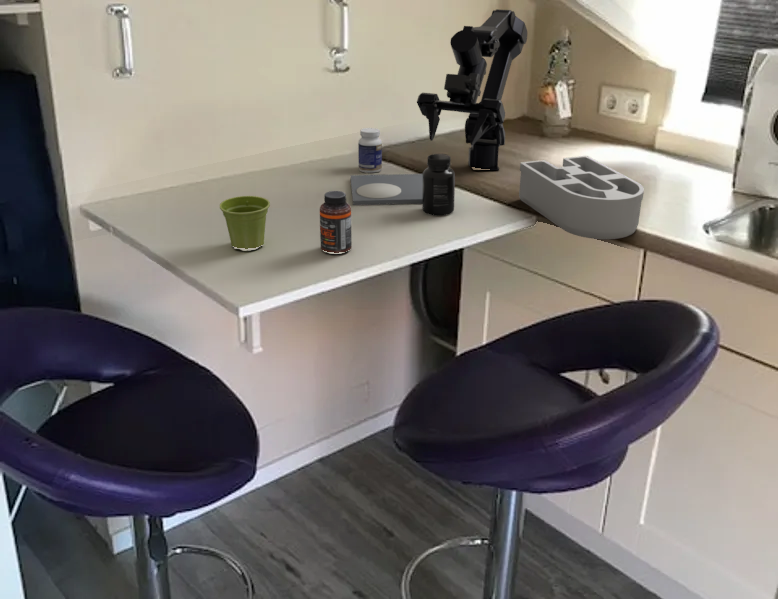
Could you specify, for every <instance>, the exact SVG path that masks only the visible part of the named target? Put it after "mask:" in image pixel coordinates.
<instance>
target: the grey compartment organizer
mask: <svg viewBox="0 0 778 599" xmlns="http://www.w3.org/2000/svg"><path fill="white" fill-rule="evenodd" d="M519 171H520V176H519V192H518V194H519V195H518V196H519V200H520V201H521V202H522V203H524V204H526V205H527V206H529V207H530V208H531V209H533V210H534V211H536V212H537V213H539V214H540V215H542V216H543V217H544V218H546V219H547V220H549V221H550V222H551V223H553V224H555V225H556V226H557V227H559V228H560V229H561V230H563V231H564V232H566V233H568V234H572V235H573V236H576V237H582V238H587V239H592V240H593V239H595V240H617V239H622V238H623V239H624V238H626V237H629V236H631V235H633V234H634V233H635V232H636V230H637V228H638V226H639V221H640V216H641V208H642V201H643V200H644V199H643V198H644V194H645V192H644V191H645V188H644V185H642V184H641V183H640V182H638V181H637V180H635V179H632V178H630V177H628V176H626V175H625V174H623V173H621V172H619V171H617V170H615V169H614V168H612V167H610V166H609V165H608V166H607V165H605V164H604V163H602V162H600V161H598V160H596V159H594V158H592V157H591V156H589V155H577V156H571V157H563V158H562V166H559V167H558V166H556V165H555V164H552V163H551V162H549V161H548V160H545V159H542V160H531V161H522V162H521V161H520V163H519Z"/></svg>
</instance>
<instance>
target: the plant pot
mask: <svg viewBox="0 0 778 599" xmlns="http://www.w3.org/2000/svg"><path fill="white" fill-rule="evenodd" d="M270 206H271V203H270V201H269V199H267V198H265V197H262V196H256V195H242V196H241V195H240V196H233V197H231V198H227V199H225V200H223V201H221V203H220V204H219V209H220V210H221V211H222V215H223V217H224V219H225V222H226V223H225V224H226V226H227V231H228V235H229V239H230V243H231V247H232V246H234V247H237V248H245V249H248V248H256V247H259V246H261V245H263V244H264V245H265V232H266V221H267V214H268V211H269V210H268V209H269V207H270Z"/></svg>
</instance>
